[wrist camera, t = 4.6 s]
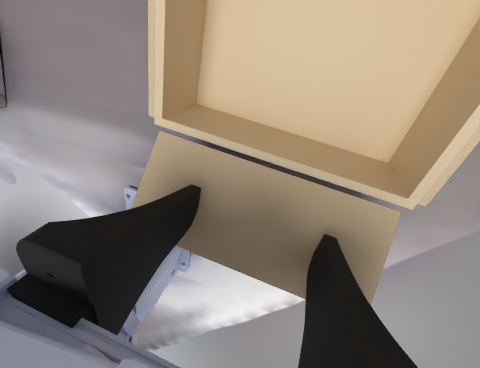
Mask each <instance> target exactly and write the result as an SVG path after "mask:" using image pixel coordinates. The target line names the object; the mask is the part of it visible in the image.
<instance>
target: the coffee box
mask: <svg viewBox="0 0 480 368" xmlns="http://www.w3.org/2000/svg"><path fill="white" fill-rule="evenodd" d="M2 107H6V97H5V89H4V81H3V73H2V64H1V56H0V108H2Z"/></svg>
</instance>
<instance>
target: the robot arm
mask: <svg viewBox="0 0 480 368" xmlns="http://www.w3.org/2000/svg"><path fill="white" fill-rule="evenodd" d="M136 192H137V189H134V188H132V187H126V188H125V189H124V193H125V206H126V210H125V211H121V212H117V213H113V214H108V215H104V216H98V217H92V218H86V219H80V220H69V221H59V222H49V223H47V224H45V225H44V226H42V227H41V228H39V229H37V230H36V231H35V232H33V233H31V234H29V235H28V236H26V237H25V238H23V239H21V240H20V241H19V242H18V243H17V247H16V251H17V253H18V256H19V258H20V260H21V262H22V264H23V266H24V268H25V269H24V270H23V271H21V272H20V273H18V274H17V275H16V276H14V275H13V274H12V273H10V272H8V271H7V270H5V269H3V268H0V368H180V367H178V366H176V365H174V364H172V363H170V362H168V361H166V360H164V359H162V358H160V357H158V356H157V355H155V354H153V353H151V352H149V351H147V350H145V349H143V348H141V347H139V346H137V339H136V336H135V335H134V334H133V333H134V332H135V330H136V329H137V327H138V326H139V324H140V323H141V321H140V320H142V319H143V318H144V317H146V316H147V315H148V314H149V312H150V311H151V310H152V308H153V307H154V305H155V304H156V302H157V301H158V299H159V298H160V296H161V295H162V293H163V292H164V290H165V289H166V287H167V286H168V284H169V283H170V281H171V280H172V278H173V277H174V275H175V273H176V272H177V270H180V271H183V272H186V271H187V269H188V264H189V257H190V251H187V250H185V249H183V248H180V247H178V246H176V245H177V243H178V242H179V241H180V240H181V238H182V237H183V236H184V235H185V233H186V232H187V231H188V230H189V228H190V227H191V225H192V223H193V221H194V218H195V216H196V213H197V210H198V208H199V201H200V194H201V188H200V187H198V186H195V185H192V184H191V185H189V186H186V187H184V188H182V189H180V190H178V191H176V192H174V193H171V194H169V195H167V196H165V197H162V198H160V199H157V200H155V201H152V202H150V203H147V204H144V205H142V206H139V207H135V208H132V209H130V208H131V206H132V203H133V200H134V198H135V195H136ZM298 368H418V367H417V366H416V365H415V364H414V362H413V361H412V360H411V359H410V358H409V357H408V355H407V354H406V353H405V352H404V351H403V349H402V348H401V347H400V346H399V344H398V343H397V342H396V341H395V339H394V338H393V337H392V336H391V334H390V333H389V332H388V330H387V329H386V327H385V326H384V325H383V323H382V322H381V320H380V319H379V317H378V316H377V315H376V313H375V311H374V310H373V308H372V307H371V305H370V304H369V302H368V301H367V299H366V297H365V296H364V294H363V292H362V290H361V289H360V287H359V285H358V283H357V281H356V279H355V278H354V276H353V273H352V271H351V269H350V267H349V265H348V263H347V261H346V259H345V256H344V254H343V252H342V250H341V247H340V245H339V243H338V240H337V238H335V237H332V236H330V235H327V234H324V235H323V237H322V239H321V241H320V242H319V244H318V246H317V248H316V249H315V251H314V253H313V256H312V259H311V262H310V265H309V267H308V273H307V284H306V308H305V327H304V333H303V340H302V347H301V353H300V359H299V366H298Z"/></svg>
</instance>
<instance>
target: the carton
mask: <svg viewBox="0 0 480 368" xmlns="http://www.w3.org/2000/svg"><path fill="white" fill-rule="evenodd" d="M148 69H149V116H151V117H154V118H155V124H156V125H159V126H162V127H165V128H168V129H171V130H174V131H177V132H180V133H183V134H186V135H189V136H192V137H195V138H198V139H201V140H204V141H207V142H210V143H213V144H216V145H219V146H222V147H225V148H228V149H231V150H234V151H237V152H240V153H243V154H246V155H249V156H252V157H255V158H258V159H261V160H264V161H267V162H270V163H273V164H276V165H279V166H282V167H285V168H288V169H291V170H294V171H297V172H300V173H303V174H306V175H309V176H312V177H315V178H318V179H321V180H324V181H327V182H330V183H333V184H336V185H339V186H342V187H345V188H348V189H351V190H354V191H357V192H360V193H363V194H366V195H369V196H372V197H375V198H378V199H381V200H384V201H387V202H390V203H393V204H396V205H399V206H402V207H405V208H408V209H411V210H413V209H414V207H415V206H416V205H417V204H419V205H422V206H425V207H426V205H427V204H428V203H429V202H430V201H431V199H432V198H433V197H434V196H435V194H436V193H437V192H438V191H439V190H440V188H441V187H442V186H443V185H444V184H445V182H446V181H447V180H448V179H449V178H450V176H451V175H452V174H453V173H454V171H455V170H456V169H457V168H458V167H459V165H460V164H461V163H462V162H463V161H464V159H465V158H466V157H467V156H468V154H469V153H470V152H471V151H472V150H473V148H474V147H475V146H476V145H477V144H478V142H479V141H480V0H148Z"/></svg>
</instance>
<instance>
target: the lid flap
mask: <svg viewBox="0 0 480 368" xmlns="http://www.w3.org/2000/svg"><path fill="white" fill-rule="evenodd" d="M191 184H192V185H195V186H198V187H200V188H201V194H200V201H199V208H198V210H197V213H196V216H195V218H194V221H193V223H192V225H191V227H190V228H189V230H188V231H187V232H186V233H185V235H184V236H183V237H182V238H181V240H180V241H179V242H178V243H177V245H176V246H178V247H180V248H183V249H185V250H187V251H190V252H192V253H195V254H197V255H200V256H202V257H204V258H207V259H209V260H212V261H214V262H217V263H219V264H221V265H224V266H226V267H229V268H231V269H234V270H236V271H238V272H241V273H243V274H246V275H248V276H251V277H253V278H255V279H258V280H260V281H263V282H265V283H268V284H270V285H272V286H275V287H277V288H280V289H282V290H285V291H287V292H289V293H292V294H294V295H297V296H299V297H302V298H304V299H306V284H307V273H308V267H309V265H310V262H311V259H312V256H313V253H314V251H315V249H316V248H317V246H318V244H319V242H320V241H321V239H322V237H323V235H324V234H327V235H330V236H332V237H335V238H337V240H338V243H339V245H340V247H341V250H342V252H343V254H344V256H345V259H346V261H347V263H348V265H349V267H350V269H351V271H352V273H353V276H354V278H355V279H356V281H357V283H358V285H359V287H360V289H361V290H362V292H363V294H364V296H365V297H366V299H367V301H368V302H369V304H370V305H371V303H372V299H373V297H374V294H375V291H376V288H377V285H378V281H379V278H380V275H381V272H382V269H383V266H384V263H385V260H386V257H387V254H388V251H389V248H390V245H391V242H392V239H393V236H394V233H395V230H396V227H397V224H398V221H399V218H400V214H401V212H400V211H397V210H394V209H391V208H388V207H385V206H382V205H379V204H376V203H373V202H370V201H367V200H364V199H361V198H358V197H355V196H352V195H349V194H346V193H343V192H340V191H337V190H334V189H331V188H328V187H325V186H322V185H319V184H316V183H313V182H310V181H307V180H304V179H301V178H298V177H295V176H292V175H289V174H287V173H284V172H281V171H278V170H275V169H272V168H269V167H266V166H263V165H260V164H257V163H254V162H251V161H248V160H245V159H242V158H239V157H236V156H233V155H230V154H227V153H224V152H221V151H218V150H215V149H212V148H209V147H206V146H203V145H200V144H197V143H194V142H191V141H188V140H185V139H182V138H179V137H176V136H174V135H171V134H168V133H165V132H162V131H160V132H159V134H158V137H157V140H156V142H155V145H154V148H153V150H152V153H151V156H150V158H149V161H148V163H147V166H146V169H145V171H144V174H143V177H142V179H141V182H140V185H139V187H138V190H137V192H136V195H135V198H134V200H133V203H132V206H131V208H130V209H132V208H135V207H139V206H142V205H144V204H147V203H150V202H152V201H155V200H157V199H160V198H162V197H165V196H167V195H169V194H171V193H174V192H176V191H178V190H180V189H182V188H184V187H186V186H189V185H191Z"/></svg>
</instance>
